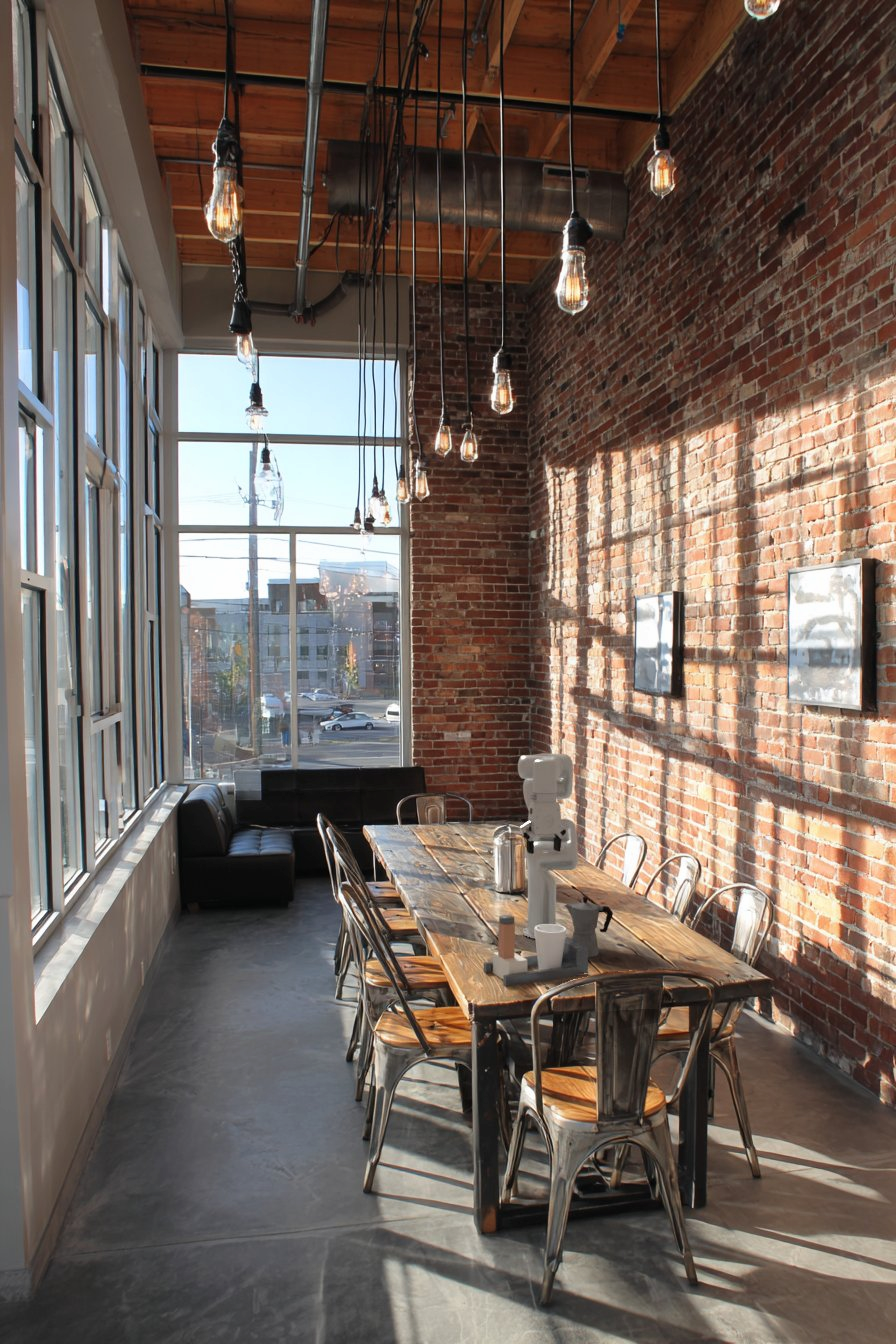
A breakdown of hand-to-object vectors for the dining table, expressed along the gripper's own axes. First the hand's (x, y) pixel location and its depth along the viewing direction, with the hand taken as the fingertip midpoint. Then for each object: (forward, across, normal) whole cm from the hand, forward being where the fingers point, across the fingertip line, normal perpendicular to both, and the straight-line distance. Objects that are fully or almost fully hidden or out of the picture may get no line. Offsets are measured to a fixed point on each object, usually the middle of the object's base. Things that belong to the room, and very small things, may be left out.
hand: (543, 851), depth 300 cm
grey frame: (+32, -12, -17) cm, 38 cm away
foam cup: (+32, -7, -17) cm, 37 cm away
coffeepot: (+32, +13, -6) cm, 35 cm away
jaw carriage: (+32, -21, -17) cm, 42 cm away
